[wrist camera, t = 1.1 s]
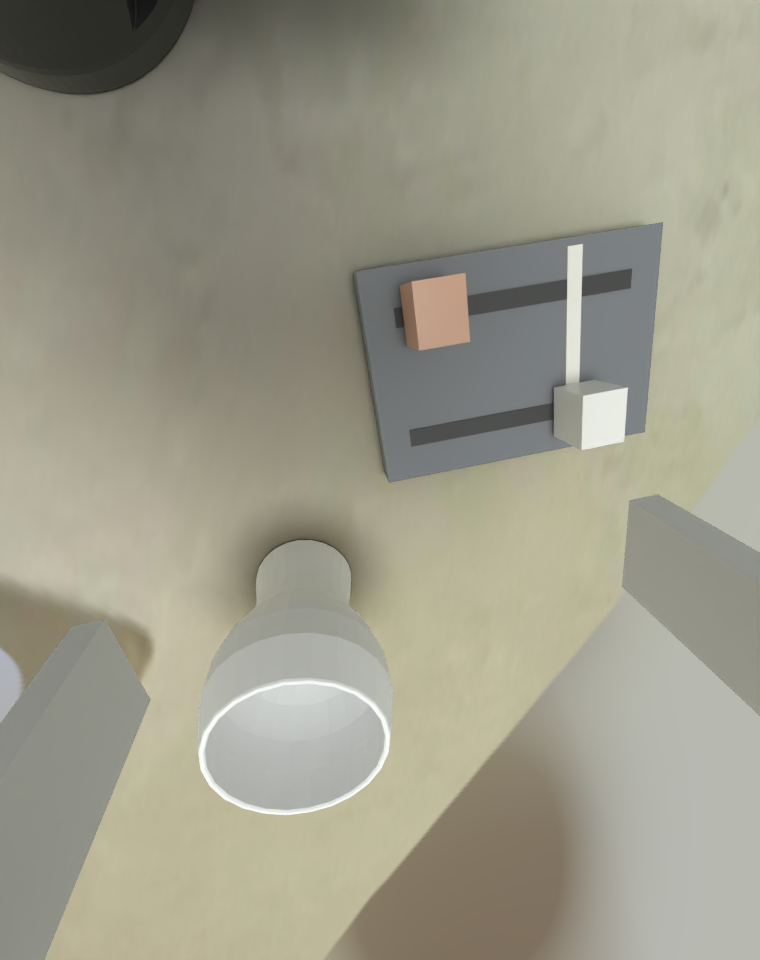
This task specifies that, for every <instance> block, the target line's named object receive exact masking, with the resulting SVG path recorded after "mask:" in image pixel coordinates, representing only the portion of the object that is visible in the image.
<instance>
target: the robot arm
mask: <svg viewBox="0 0 760 960" xmlns="http://www.w3.org/2000/svg"><path fill="white" fill-rule="evenodd" d="M193 1H194V0H0V71H1V72H3V73H5V74H7V75H9V76H11V77H13V78H15V79H17V80H20V81H22V82H24V83H27V84H30V85H33V86H36V87H40V88H43V89H47V90H52V91H57V92H64V93H77V94H86V93H97V92H103V91H108V90H112V89H115V88H118V87H121V86H124V85H126V84H128V83H130V82H132V81H134V80H136V79H138V78H139V77H141V76H143V75H144V74H146V73H147V72H148V71H149V70H151V69H152V68H153V67H154V66H155V65H156V64H157V63H159V62H160V61H161V60H162V58H163V57H164V56H165V55H166V54H167V53H168V51H169V50H170V49H171V47H172V46H173V45H174V43H175V42H176V40H177V38H178V37H179V35H180V33H181V31H182V29H183V27H184V25H185V23H186V21H187V19H188V16H189V13H190V11H191V8H192V5H193ZM622 587H623V588H624V589H625V590H626V591H627V592H628V593H629V594H631V595H632V596H633V597H634V598H635V599H636V600H637V601H638V602H639V603H640V604H641V605H642V606H643V607H644V608H645V609H647V611H649V612H650V613H651V614H652V615H653V616H654V617H655V618H656V619H657V620H658V621H659V622H660V623H661V624H663V626H665V627H666V628H667V629H668V630H669V631H670V632H671V633H672V634H673V635H674V636H675V637H676V638H677V639H678V640H680V641H681V642H682V643H683V644H684V645H685V646H686V647H687V648H688V649H689V650H690V651H691V652H692V653H693V654H694V655H696V656H697V657H698V658H699V659H700V660H701V661H702V662H703V663H704V664H705V665H706V666H707V667H708V668H709V669H710V670H712V672H714V673H715V674H716V675H717V676H718V677H719V678H720V679H721V680H722V681H723V682H724V683H725V684H726V685H727V686H728V687H730V688H731V689H732V690H733V691H734V692H735V693H736V694H737V695H738V696H739V697H740V698H741V699H742V700H743V701H745V702H746V703H747V704H748V705H749V706H750V707H751V708H752V709H753V710H754V711H755V712H756V713H757V714H758V715H759V716H760V553H759V552H758V551H756V550H754V549H752V548H750V547H749V546H747V545H745V544H744V543H742V542H740V541H738V540H737V539H735V538H733V537H731V536H730V535H728V534H726V533H724V532H723V531H721V530H719V529H718V528H716V527H714V526H712V525H710V524H709V523H707V522H705V521H703V520H702V519H700V518H698V517H696V516H695V515H693V514H691V513H690V512H688V511H686V510H684V509H683V508H681V507H679V506H677V505H676V504H674V503H672V502H670V501H669V500H667V499H665V498H663V497H662V496H660V495H658V494H657V495H652V496H648V497H643V498H639V499H634V500H630V501H629V512H628V523H627V535H626V547H625V558H624V570H623V581H622ZM149 702H150V698H149V696H148V694H147V692H146V691H145V689H144V687H143V685H142V684H141V682H140V680H139V678H138V677H137V675H136V673H135V671H134V670H133V668H132V666H131V664H130V663H129V661H128V659H127V657H126V656H125V654H124V652H123V650H122V649H121V647H120V645H119V643H118V642H117V640H116V638H115V636H114V634H113V633H112V631H111V629H110V627H109V626H108V624H107V622H106V620H105V619H104V620H99V621H95V622H91V623H86V624H82V625H77V626H73V627H71V628H70V630H69V631H68V632H67V634H66V635H65V636H64V638H63V639H62V640H61V642H60V643H59V645H58V646H57V647H56V649H55V650H54V651H53V653H52V654H51V655H50V657H49V658H48V659H47V661H46V662H45V664H44V665H43V666H42V668H41V669H40V670H39V672H38V673H37V674H36V676H35V677H34V678H33V680H32V681H31V683H30V684H29V685H28V687H27V688H26V689H25V691H24V692H23V693H22V695H21V696H20V697H19V699H18V700H17V701H16V703H15V704H14V706H13V707H12V708H11V710H10V711H9V712H8V714H7V715H6V716H5V718H4V719H3V720H2V722H1V723H0V960H44V959H45V957H46V954H47V952H48V950H49V947H50V945H51V942H52V940H53V937H54V935H55V932H56V930H57V927H58V925H59V923H60V920H61V918H62V915H63V913H64V910H65V908H66V905H67V903H68V901H69V898H70V896H71V893H72V891H73V888H74V886H75V883H76V881H77V878H78V876H79V874H80V871H81V869H82V866H83V864H84V861H85V859H86V856H87V854H88V851H89V849H90V847H91V844H92V842H93V839H94V837H95V834H96V832H97V829H98V827H99V824H100V822H101V820H102V817H103V815H104V812H105V810H106V807H107V805H108V802H109V800H110V798H111V795H112V793H113V790H114V788H115V785H116V783H117V780H118V778H119V775H120V773H121V771H122V768H123V766H124V763H125V761H126V758H127V756H128V753H129V751H130V748H131V746H132V744H133V741H134V739H135V736H136V734H137V731H138V729H139V726H140V724H141V721H142V719H143V717H144V714H145V712H146V709H147V707H148V704H149Z"/></svg>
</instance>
